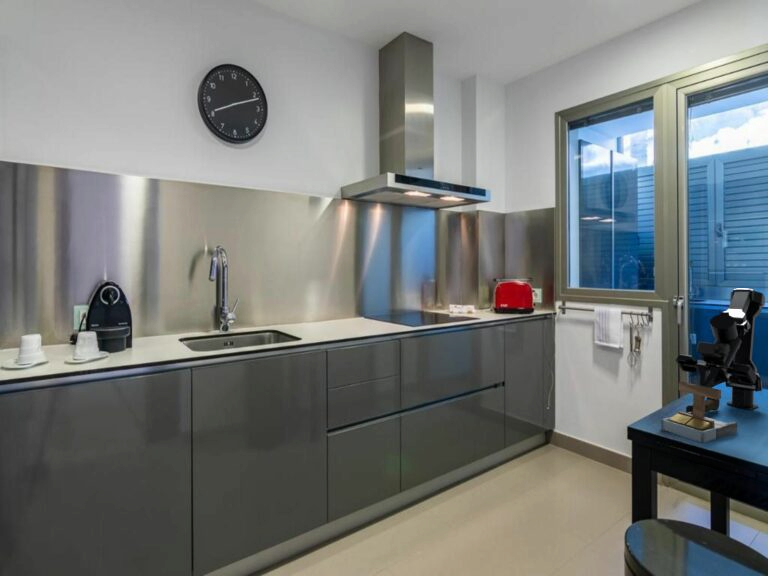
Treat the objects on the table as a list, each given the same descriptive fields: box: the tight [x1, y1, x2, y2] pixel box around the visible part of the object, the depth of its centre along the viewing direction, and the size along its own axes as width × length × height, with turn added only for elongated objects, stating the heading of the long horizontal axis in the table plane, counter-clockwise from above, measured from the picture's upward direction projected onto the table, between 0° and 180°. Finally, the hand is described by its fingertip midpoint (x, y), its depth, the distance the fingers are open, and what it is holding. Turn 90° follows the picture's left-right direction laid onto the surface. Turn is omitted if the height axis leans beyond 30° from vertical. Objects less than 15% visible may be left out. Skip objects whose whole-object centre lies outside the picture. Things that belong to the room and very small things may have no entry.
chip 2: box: [686, 418, 711, 431], centre depth 117 cm, size 4×4×3 cm
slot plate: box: [687, 411, 738, 440], centre depth 122 cm, size 10×11×3 cm
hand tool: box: [685, 397, 721, 414], centre depth 134 cm, size 19×4×5 cm, turn 120°
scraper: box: [677, 381, 722, 429], centre depth 120 cm, size 3×10×11 cm, turn 26°
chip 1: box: [669, 412, 692, 426], centre depth 121 cm, size 4×4×3 cm
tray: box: [660, 416, 717, 444], centre depth 119 cm, size 6×11×3 cm, turn 25°
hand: (701, 390), depth 121 cm, fingers closed, pressing on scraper
